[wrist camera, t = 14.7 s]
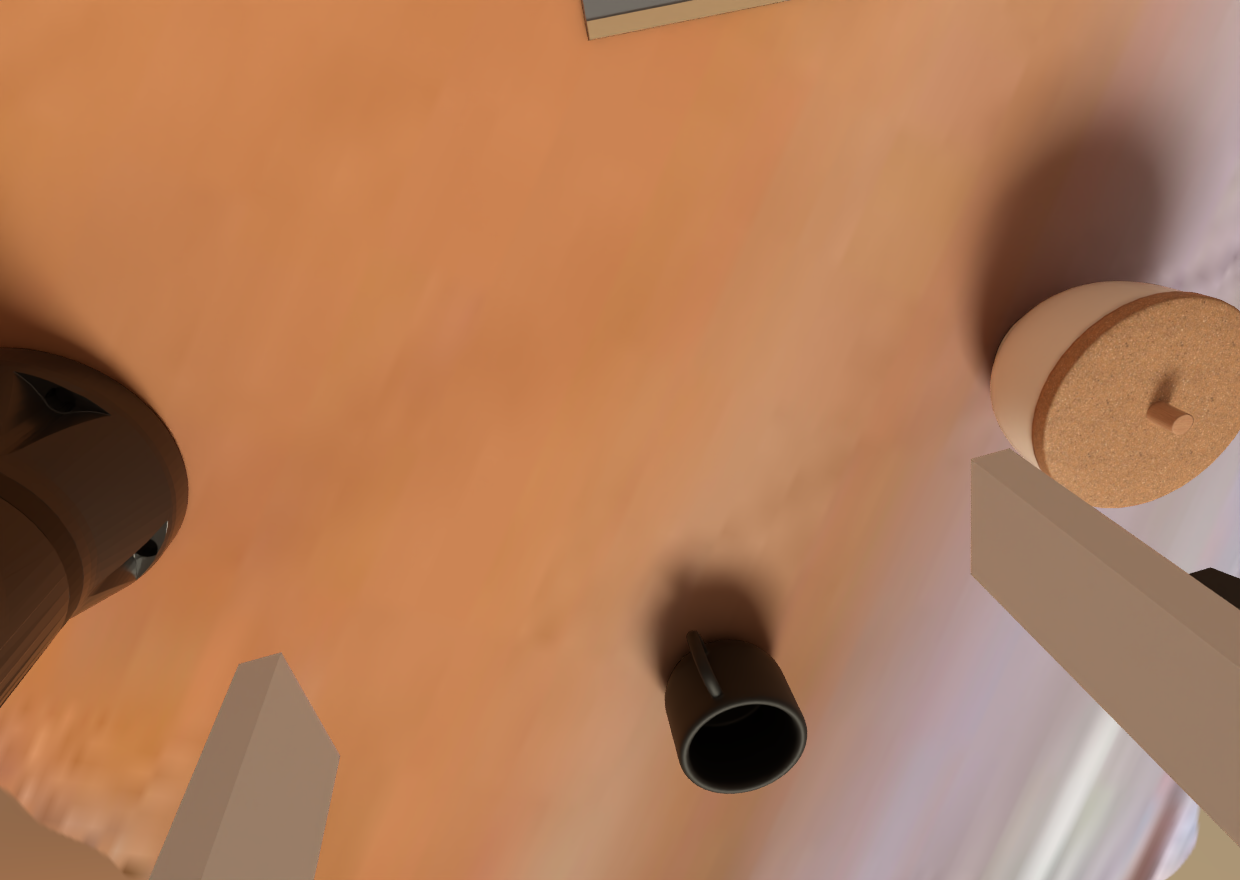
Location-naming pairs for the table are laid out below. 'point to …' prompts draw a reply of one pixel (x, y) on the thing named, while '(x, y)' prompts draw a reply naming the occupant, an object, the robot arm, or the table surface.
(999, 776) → the table surface
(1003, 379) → the lidded bowl
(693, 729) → the mug
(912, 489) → the table surface
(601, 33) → the slate board
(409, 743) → the table surface
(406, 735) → the table surface
